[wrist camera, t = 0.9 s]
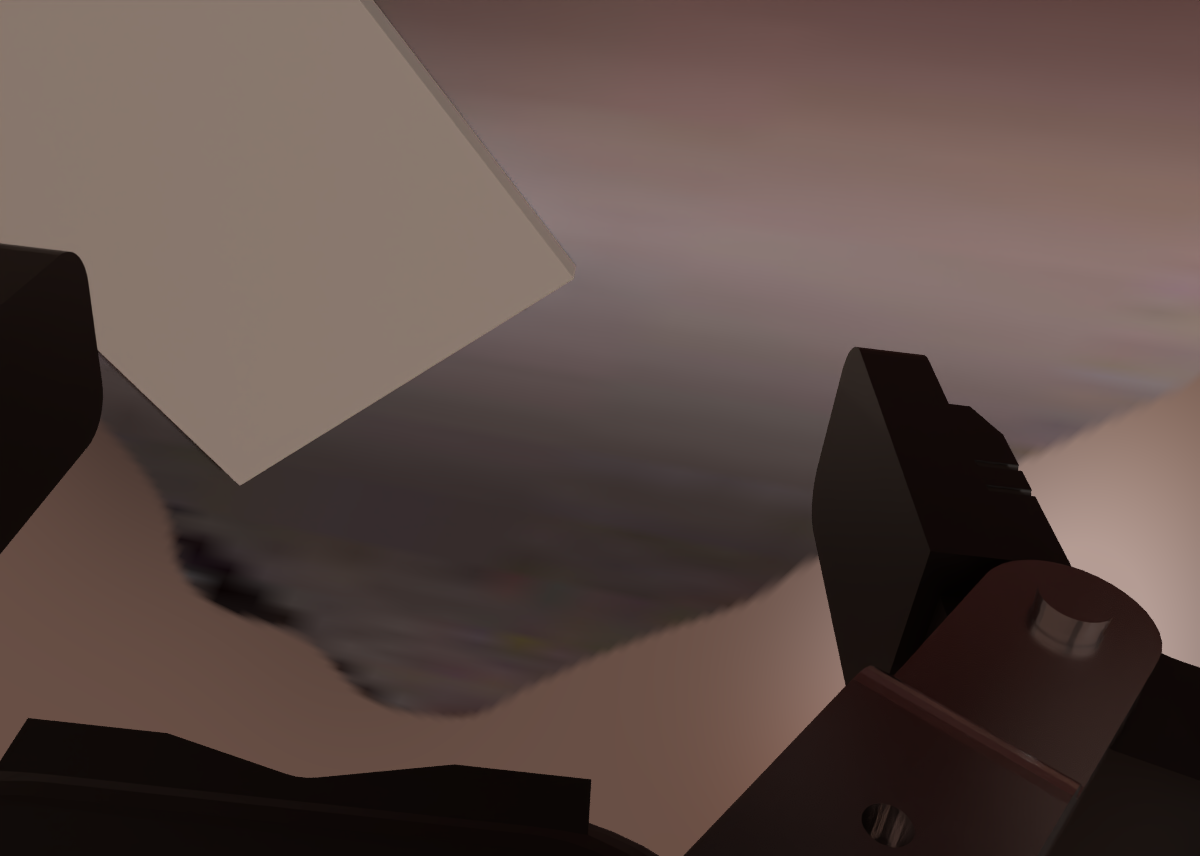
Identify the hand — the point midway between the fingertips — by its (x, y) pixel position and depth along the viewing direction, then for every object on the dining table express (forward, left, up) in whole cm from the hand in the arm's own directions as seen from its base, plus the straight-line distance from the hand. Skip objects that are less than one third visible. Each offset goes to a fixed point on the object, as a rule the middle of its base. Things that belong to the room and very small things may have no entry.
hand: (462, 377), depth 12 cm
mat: (+11, -10, -25) cm, 29 cm away
